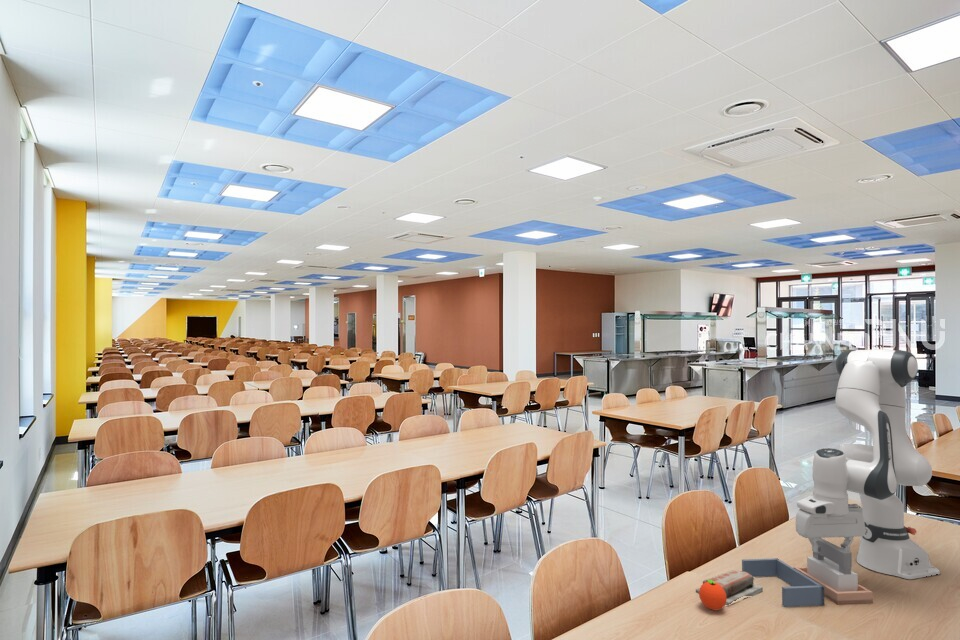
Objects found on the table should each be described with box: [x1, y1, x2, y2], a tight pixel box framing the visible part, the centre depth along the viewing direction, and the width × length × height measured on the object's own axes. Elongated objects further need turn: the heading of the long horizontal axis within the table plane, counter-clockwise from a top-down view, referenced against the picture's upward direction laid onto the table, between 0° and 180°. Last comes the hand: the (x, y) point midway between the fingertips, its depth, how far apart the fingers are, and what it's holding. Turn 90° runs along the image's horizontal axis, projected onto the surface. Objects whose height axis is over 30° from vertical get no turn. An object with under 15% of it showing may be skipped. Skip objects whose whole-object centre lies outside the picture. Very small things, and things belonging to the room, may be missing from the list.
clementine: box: [698, 579, 727, 611], centre depth 141 cm, size 8×7×7 cm
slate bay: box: [741, 558, 825, 608], centre depth 152 cm, size 12×19×5 cm, turn 6°
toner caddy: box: [806, 538, 859, 592], centre depth 153 cm, size 6×12×12 cm, turn 7°
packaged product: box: [695, 569, 764, 605], centre depth 150 cm, size 18×5×10 cm
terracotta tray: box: [793, 566, 874, 606], centre depth 153 cm, size 11×17×3 cm, turn 6°
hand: (830, 551), depth 153 cm, fingers open, 8 cm apart
